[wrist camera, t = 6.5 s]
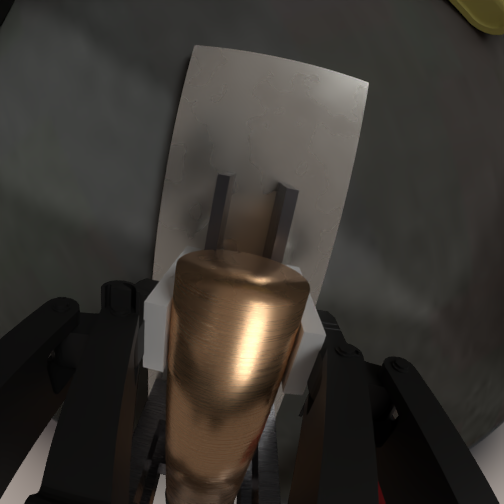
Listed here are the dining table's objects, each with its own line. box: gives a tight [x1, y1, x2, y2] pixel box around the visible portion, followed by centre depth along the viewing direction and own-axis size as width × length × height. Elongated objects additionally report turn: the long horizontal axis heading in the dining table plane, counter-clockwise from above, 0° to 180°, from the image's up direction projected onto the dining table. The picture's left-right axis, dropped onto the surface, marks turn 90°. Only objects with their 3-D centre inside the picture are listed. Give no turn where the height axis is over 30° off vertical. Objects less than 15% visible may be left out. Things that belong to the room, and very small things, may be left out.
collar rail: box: [129, 45, 369, 504], centre depth 13 cm, size 32×10×13 cm, turn 168°
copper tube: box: [165, 250, 310, 504], centre depth 13 cm, size 20×5×5 cm, turn 169°
